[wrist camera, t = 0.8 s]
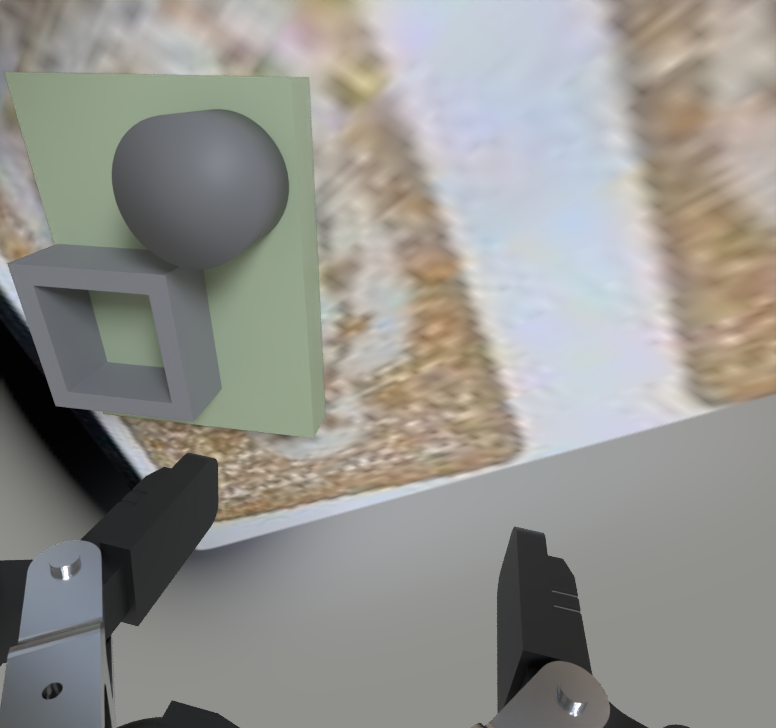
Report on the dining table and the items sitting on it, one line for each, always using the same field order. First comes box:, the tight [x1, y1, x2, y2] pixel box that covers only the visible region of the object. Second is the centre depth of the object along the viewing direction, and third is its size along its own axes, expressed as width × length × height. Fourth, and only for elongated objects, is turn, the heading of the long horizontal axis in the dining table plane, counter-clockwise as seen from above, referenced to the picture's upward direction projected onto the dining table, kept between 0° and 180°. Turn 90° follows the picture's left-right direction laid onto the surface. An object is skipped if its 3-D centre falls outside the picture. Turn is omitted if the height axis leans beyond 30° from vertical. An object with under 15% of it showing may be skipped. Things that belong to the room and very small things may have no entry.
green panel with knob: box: [4, 72, 326, 438], centre depth 32 cm, size 22×16×8 cm
